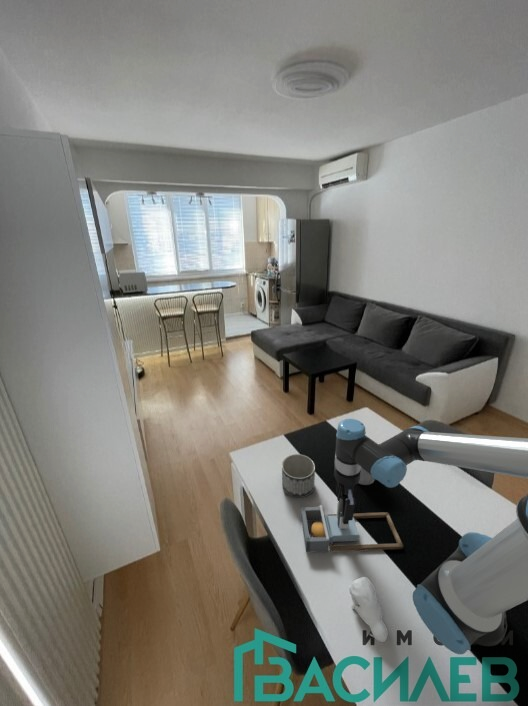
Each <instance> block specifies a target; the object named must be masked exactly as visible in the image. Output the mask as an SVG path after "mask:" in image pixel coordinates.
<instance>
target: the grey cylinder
mask: <svg viewBox="0 0 528 706" xmlns="http://www.w3.org/2000/svg"><path fill="white" fill-rule="evenodd" d="M375 481H376V479H375V478H373V477H372V476H371V475H370V474H369V473H368V472H367V471H365V470H364V469H363V468H362V467H361V472H360V480H359V482H358V483H357V484H360V485H364V486H369V485H371V484H374V482H375Z"/></svg>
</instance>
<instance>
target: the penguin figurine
mask: <svg viewBox="0 0 528 706" xmlns="http://www.w3.org/2000/svg"><path fill="white" fill-rule="evenodd" d="M348 589H349V594H350V595H351V608H352V610H355V611H356V612H357V613H358V615H359V617H360V618H361V619H362V620H363V622H365V624H367V625H368V626H369V628H370V631H371V632H370V633H368V634H369V636H371V638H374V639H375V640H377V641H378V642H380V643H381V642H382V643H383V642H386V640H387V638H388V635H389V633H388V628H387V626H386V624H385V623H384V621H383V620H382V619H383V618H382V607H381V605H380V603H379V602H378V600H377V593H376V588H375V587H374V585H373V584H372V582H371V581H370V579H369V578H368V577H367V576H361V577H359V578H356V579H354V580H353V581H352V583H351V584H350V585H349V586H348Z"/></svg>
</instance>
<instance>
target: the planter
mask: <svg viewBox="0 0 528 706" xmlns="http://www.w3.org/2000/svg"><path fill="white" fill-rule="evenodd" d="M315 464H316V463H315V462H314V461H313V460H312V459H311V458H310V457H309V456H307V455H305V454H301V453H300V454H297V453H294V454H290V455H289V456H286V457H285V458H284V459H283V461H282V464H281V479H282V481H281V484H282V487H283V489H284V492H285V493H287V494H289V496H291V497H296V498H304V497H307V496H309V495H311V493H312V492H313V491H314V488H315V479H316V477H315V476H316V465H315Z"/></svg>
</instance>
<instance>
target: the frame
mask: <svg viewBox="0 0 528 706" xmlns="http://www.w3.org/2000/svg"><path fill="white" fill-rule="evenodd" d="M300 509H301V510H300V512H301V513H300V518H301V527H302V532H303V541H304V548H305V553H320V552H321V553H322V552H323V553H324V552H327V553H328V552H329V551H330V549H329V546H330V544H329V535H328V531H327V526H326V522H325V517H324V514H325V513H324V509H323V505H321V504H320V505H319V506H312V507H311V506H310V507H309V506H306V507H305V506H304V507H300ZM308 521H321V522H322V523H323V526H324V531H325V536H326V537H315V538H313V537H310V532H309V528H308Z"/></svg>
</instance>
